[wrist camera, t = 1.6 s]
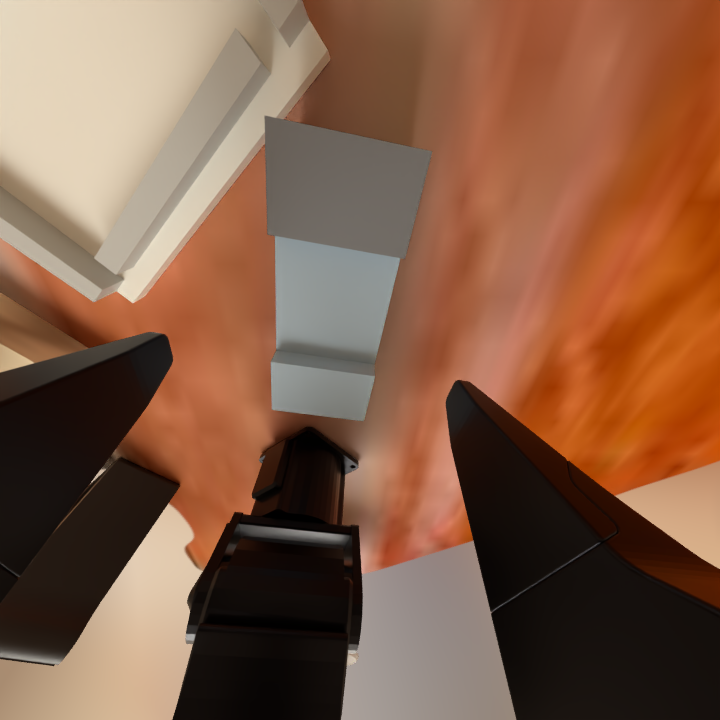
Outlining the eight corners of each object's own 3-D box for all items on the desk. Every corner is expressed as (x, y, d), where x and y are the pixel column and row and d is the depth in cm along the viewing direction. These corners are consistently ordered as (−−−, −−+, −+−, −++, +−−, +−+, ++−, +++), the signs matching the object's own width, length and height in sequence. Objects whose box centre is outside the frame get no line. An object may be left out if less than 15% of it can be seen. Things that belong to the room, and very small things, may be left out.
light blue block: (363, 367, 19) (363, 421, 15) (292, 357, 19) (272, 409, 15) (409, 157, 12) (432, 151, 8) (298, 134, 12) (264, 115, 8)
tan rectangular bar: (145, 379, 20) (115, 407, 18) (120, 403, 22) (88, 433, 19) (-119, 210, 14) (-222, 218, 12) (-130, 259, 15) (-224, 276, 13)
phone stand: (140, 511, 31) (36, 671, 21) (83, 489, 28) (-66, 658, 19) (181, 484, 28) (80, 658, 18) (121, 456, 25) (-37, 641, 15)
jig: (24, -440, 6) (-149, -749, 4) (330, 59, 10) (322, 32, 8) (-84, 124, 12) (-179, 115, 10) (144, 296, 16) (112, 314, 14)
